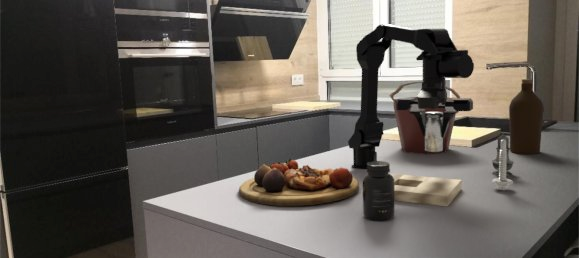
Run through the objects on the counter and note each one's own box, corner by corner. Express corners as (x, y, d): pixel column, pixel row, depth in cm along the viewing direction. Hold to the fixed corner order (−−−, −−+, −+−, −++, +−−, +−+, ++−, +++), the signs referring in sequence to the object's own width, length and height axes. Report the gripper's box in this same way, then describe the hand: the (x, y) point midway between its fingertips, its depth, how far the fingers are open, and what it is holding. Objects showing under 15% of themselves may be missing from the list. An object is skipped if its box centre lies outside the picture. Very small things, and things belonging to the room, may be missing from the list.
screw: (516, 190, 123) (502, 192, 122) (501, 185, 128) (487, 188, 126) (518, 139, 122) (503, 141, 120) (502, 136, 126) (488, 138, 124)
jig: (372, 197, 121) (372, 188, 121) (393, 182, 135) (393, 173, 135) (447, 206, 112) (447, 196, 112) (461, 189, 126) (461, 179, 126)
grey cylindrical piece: (422, 151, 129) (422, 113, 127) (427, 148, 133) (427, 111, 131) (440, 152, 127) (441, 113, 125) (444, 149, 131) (444, 111, 129)
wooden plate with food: (383, 188, 131) (383, 157, 130) (299, 216, 109) (298, 180, 108) (299, 173, 154) (298, 147, 153) (215, 194, 132) (213, 164, 131)
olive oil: (521, 155, 163) (524, 80, 160) (501, 150, 173) (503, 79, 170) (549, 153, 165) (552, 79, 162) (527, 148, 176) (529, 78, 172)
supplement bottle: (359, 212, 110) (359, 160, 108) (389, 210, 111) (389, 159, 109) (367, 222, 103) (366, 167, 102) (398, 220, 104) (398, 165, 102)
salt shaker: (515, 176, 137) (517, 134, 135) (493, 176, 138) (494, 134, 136) (510, 171, 142) (512, 130, 141) (489, 171, 144) (490, 131, 142)
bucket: (380, 150, 180) (379, 83, 177) (408, 141, 197) (408, 79, 193) (444, 157, 165) (445, 83, 161) (469, 147, 181) (470, 79, 178)
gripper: (389, 79, 125) (390, 140, 127) (466, 78, 116) (465, 144, 118) (401, 77, 134) (402, 133, 136) (473, 76, 125) (472, 136, 127)
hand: (433, 137), depth 129 cm, fingers closed on grey cylindrical piece, 4 cm apart
